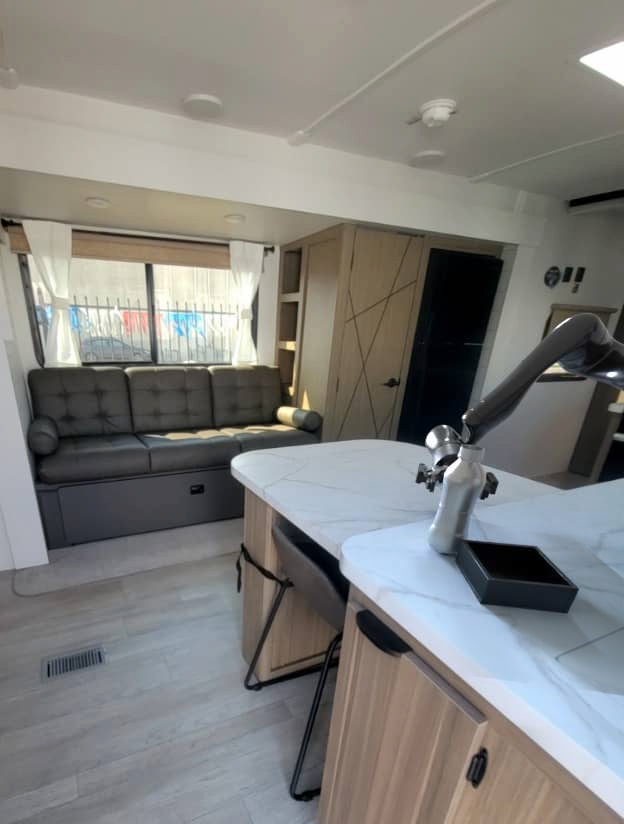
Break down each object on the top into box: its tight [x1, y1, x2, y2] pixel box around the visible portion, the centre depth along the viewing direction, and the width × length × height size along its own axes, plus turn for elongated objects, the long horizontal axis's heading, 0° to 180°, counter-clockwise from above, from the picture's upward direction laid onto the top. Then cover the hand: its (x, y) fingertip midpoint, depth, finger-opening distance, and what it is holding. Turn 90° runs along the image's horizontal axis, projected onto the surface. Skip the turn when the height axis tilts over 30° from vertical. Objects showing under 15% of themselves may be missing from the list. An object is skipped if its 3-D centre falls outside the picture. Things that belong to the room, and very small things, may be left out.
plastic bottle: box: [426, 445, 486, 555], centre depth 72 cm, size 6×7×20 cm
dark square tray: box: [454, 539, 580, 614], centre depth 66 cm, size 12×12×4 cm
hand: (457, 491), depth 74 cm, fingers open, 8 cm apart
